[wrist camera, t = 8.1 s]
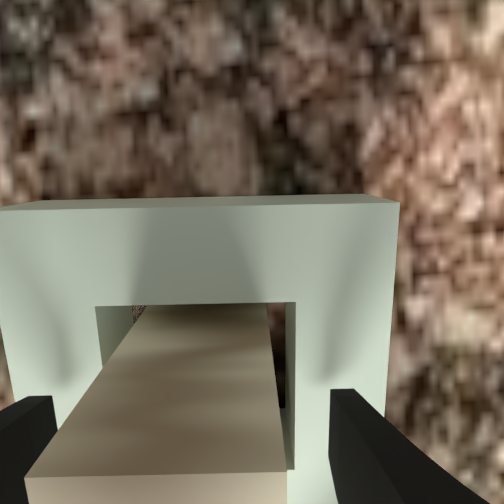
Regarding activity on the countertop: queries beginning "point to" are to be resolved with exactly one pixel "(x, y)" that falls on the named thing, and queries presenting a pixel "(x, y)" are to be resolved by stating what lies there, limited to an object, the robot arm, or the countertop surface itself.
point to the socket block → (206, 294)
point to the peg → (174, 417)
